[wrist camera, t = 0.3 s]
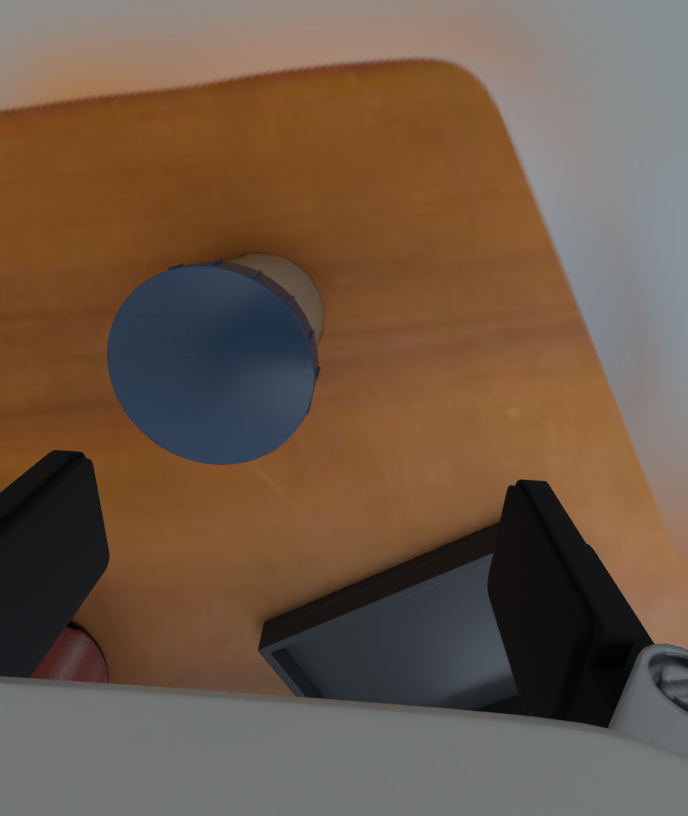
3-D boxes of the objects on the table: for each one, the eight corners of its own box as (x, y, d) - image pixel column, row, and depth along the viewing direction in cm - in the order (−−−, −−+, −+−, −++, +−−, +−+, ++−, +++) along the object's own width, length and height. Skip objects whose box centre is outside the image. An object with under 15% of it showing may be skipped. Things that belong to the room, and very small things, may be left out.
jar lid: (250, 220, 16) (238, 221, 15) (353, 394, 18) (353, 411, 17) (88, 322, 18) (62, 333, 16) (202, 472, 20) (188, 495, 18)
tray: (525, 510, 30) (539, 533, 28) (601, 661, 34) (617, 691, 32) (263, 622, 34) (257, 650, 31) (361, 744, 38) (362, 776, 36)
